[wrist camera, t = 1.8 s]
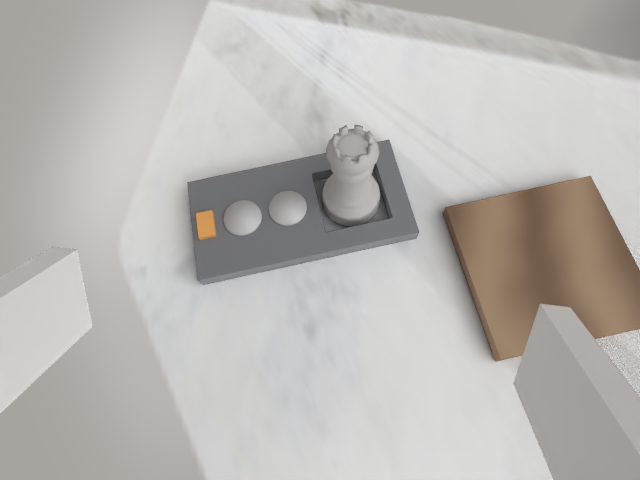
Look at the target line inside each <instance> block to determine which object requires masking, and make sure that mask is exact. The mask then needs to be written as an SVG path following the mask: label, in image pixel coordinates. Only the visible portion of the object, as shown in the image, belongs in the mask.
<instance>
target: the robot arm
mask: <svg viewBox="0 0 640 480" xmlns="http://www.w3.org/2000/svg"><path fill="white" fill-rule="evenodd" d="M91 328H92V321H91V316H90V311H89V306H88V301H87V296H86V291H85V286H84V281H83V277H82V272H81V267H80V262H79V257H78V252H77V249H68V248H60V247H51V248H50V249H48V250H46V251H45V252H43V253H41V254H39V255H38V256H36V257H34V258H32V259H31V260H29V261H27V262H26V263H24V264H22V265H21V266H19V267H17V268H15V269H13V270H12V271H10V272H8V273H7V274H5V275H3V276H2V277H0V413H1V412H2V411H3V410H4V409H5V408H6V407H7V406H9V404H11V403H12V402H13V401H14V400H15V399H16V398H17V397H18V396H19V395H20V394H21V393H22V392H23V391H25V389H27V388H28V387H29V386H30V385H31V384H32V383H33V382H34V381H35V380H36V379H37V378H38V377H39V376H40V375H42V374H43V373H44V372H45V371H46V370H47V369H48V368H49V367H50V366H51V365H52V364H53V363H54V362H55V361H57V360H58V359H59V358H60V357H61V356H62V355H63V354H64V353H65V352H66V351H67V350H68V349H69V348H70V347H71V346H72V345H74V344H75V343H76V342H77V341H78V340H79V339H80V338H81V337H82V336H83V335H84V334H85V333H86V332H87V331H88V330H90V329H91ZM514 386H515V388H516V390H517V393H518V395H519V398H520V400H521V402H522V405H523V407H524V410H525V412H526V414H527V417H528V419H529V422H530V424H531V426H532V429H533V431H534V434H535V436H536V438H537V441H538V443H539V446H540V448H541V450H542V453H543V455H544V458H545V460H546V462H547V465H548V467H549V470H550V472H551V474H552V477H553V479H554V480H640V397H639V396H638V394H637V393H636V392H635V390H634V389H633V388H632V387H631V385H630V384H629V383H628V381H627V380H626V379H625V378H624V376H623V375H622V374H621V372H620V371H619V370H618V368H617V367H616V366H615V365H614V363H613V362H612V361H611V359H610V358H609V357H608V356H607V354H606V353H605V352H604V350H603V349H602V348H601V346H600V345H599V344H598V343H597V341H596V340H595V339H594V337H593V336H592V335H591V334H590V332H589V331H588V330H587V328H586V327H585V326H584V324H583V323H582V322H581V321H580V319H579V318H578V317H577V315H576V314H575V313H574V312H573V310H572V309H571V308H570V307H564V306H555V305H547V304H540V305H539V308H538V311H537V314H536V317H535V320H534V323H533V326H532V329H531V332H530V335H529V338H528V341H527V344H526V347H525V350H524V353H523V356H522V359H521V362H520V366H519V369H518V372H517V375H516V378H515V381H514Z"/></svg>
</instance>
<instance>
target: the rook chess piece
mask: <svg viewBox="0 0 640 480" xmlns="http://www.w3.org/2000/svg"><path fill="white" fill-rule="evenodd" d="M362 128H363V126H359V125H355V126H354V129H350V130H348V128H347V125H346V126H344V127H342V128H340V129H339V133H337V134H334V136H333V138H332V139H331V140H330V141H329V143H328V145H327V148H326V155H327V160H328V161H329V163H330V164H331V171H332V172H333V174H332V175H331V176H330V177H329V178H328V179H327V181H326V182H325V185H324V188H323V191H322V204H323V209H324V210H325V212H326V214H327V216H328V217H329V218H331V219H332V220H333V221H335V222H336V223H338V224H341V225H345V226H357V225H362V224H364V223H366V222H368V221H370V220H371V219H372V218H373V216H374V215H375V214H376V213H377V212H378V208H379V205H380V190H379V185H378V183H377V182H376V180H375V179H374V177H373V176H372V175H371V174H372V171H373V168H374V165H375V163H376V162H377V160H378V157H379V146H378V143H377V142H376V140H375V139H374V137H373V135H372V134H371V132H370V131H368V132H365V131H362Z"/></svg>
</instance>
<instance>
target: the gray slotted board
mask: <svg viewBox="0 0 640 480" xmlns="http://www.w3.org/2000/svg"><path fill="white" fill-rule="evenodd" d="M377 143H378V146H379V157H378V160H377V162H376V163H375V165H374V169H375V172H376V176H377V179H378V182H379V186H380V189H381V192H382V196H383V199H384V202H385V206H386V209H387V212H388V216H389V219H385V220H380V221H376V222H371V223H366V224H362V225H357V226H353V227H348V228H343V229H339V230H334V231H330V232H325V229H324V224H323V220H322V216H321V211H320V207H319V203H318V199H317V194H316V190H315V186H314V182H313V181H315V180H320V179H325V178H329V177H330V176H331V175H332V174H333V172H332V171H331V164H330V163H329V161H328V160H327V155H326V153H324V154H319V155H315V156H310V157H305V158H301V159H296V160H291V161H286V162H282V163H277V164H272V165H268V166H263V167H258V168H253V169H249V170H244V171H239V172H235V173H230V174H225V175H220V176H216V177H211V178H206V179H202V180H197V181H192V182H187V183H188V192H189V202H190V211H191V221H192V231H193V240H194V250H195V259H196V269H197V278H198V281H199V282H200V283H202V284H203V285H204V284H209V283H214V282H218V281H223V280H227V279H232V278H236V277H241V276H246V275H250V274H255V273H259V272H264V271H268V270H273V269H278V268H282V267H287V266H291V265H296V264H300V263H305V262H310V261H314V260H319V259H323V258H328V257H332V256H337V255H342V254H346V253H351V252H355V251H360V250H365V249H369V248H374V247H378V246H383V245H387V244H392V243H397V242H401V241H406V240H410V239H415V238H417V236H418V233H419V230H418V227H417V224H416V221H415V218H414V215H413V212H412V209H411V206H410V203H409V200H408V196H407V193H406V190H405V187H404V184H403V181H402V178H401V175H400V172H399V169H398V166H397V163H396V160H395V157H394V153H393V150H392V147H391V144H390V141H389V140H385V141H381V142H377Z"/></svg>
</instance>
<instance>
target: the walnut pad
mask: <svg viewBox="0 0 640 480" xmlns="http://www.w3.org/2000/svg"><path fill="white" fill-rule="evenodd" d="M443 215H444V218H445V221H446V224H447V226H448V229H449V232H450V235H451V238H452V240H453V243H454V246H455V249H456V252H457V255H458V257H459V260H460V263H461V266H462V269H463V271H464V274H465V277H466V280H467V283H468V285H469V288H470V291H471V294H472V297H473V300H474V302H475V305H476V308H477V311H478V314H479V316H480V319H481V322H482V325H483V328H484V330H485V333H486V336H487V339H488V342H489V345H490V347H491V350H492V353H493V356H494V359H495V361H500V360H504V359H508V358H513V357H517V356H522V355H523V353H524V350H525V347H526V344H527V341H528V338H529V335H530V332H531V329H532V326H533V323H534V320H535V317H536V314H537V311H538V308H539V305H540V304H547V305H555V306H564V307H570V308H571V309H572V310H573V312H574V313H575V314H576V315H577V317H578V318H579V319H580V321H581V322H582V323H583V324H584V326H585V327H586V328H587V330H588V331H589V332H590V334H591V335H592V336H593V337H594V339H596V338H601V337H605V336H610V335H614V334H618V333H623V332H627V331H632V330H636V329H640V270H639V268H638V266H637V264H636V262H635V260H634V258H633V257H632V255H631V253H630V251H629V249H628V247H627V245H626V243H625V241H624V239H623V237H622V235H621V234H620V232H619V230H618V228H617V226H616V224H615V222H614V220H613V218H612V216H611V214H610V212H609V211H608V209H607V207H606V205H605V203H604V201H603V199H602V197H601V195H600V193H599V191H598V189H597V187H596V186H595V184H594V182H593V180H592V178H591V176H588V177H583V178H579V179H574V180H569V181H565V182H560V183H556V184H551V185H546V186H542V187H537V188H533V189H528V190H523V191H519V192H514V193H510V194H505V195H500V196H496V197H491V198H486V199H482V200H477V201H473V202H468V203H463V204H459V205H454V206H450V207H446V208H445V210H444V212H443Z"/></svg>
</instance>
